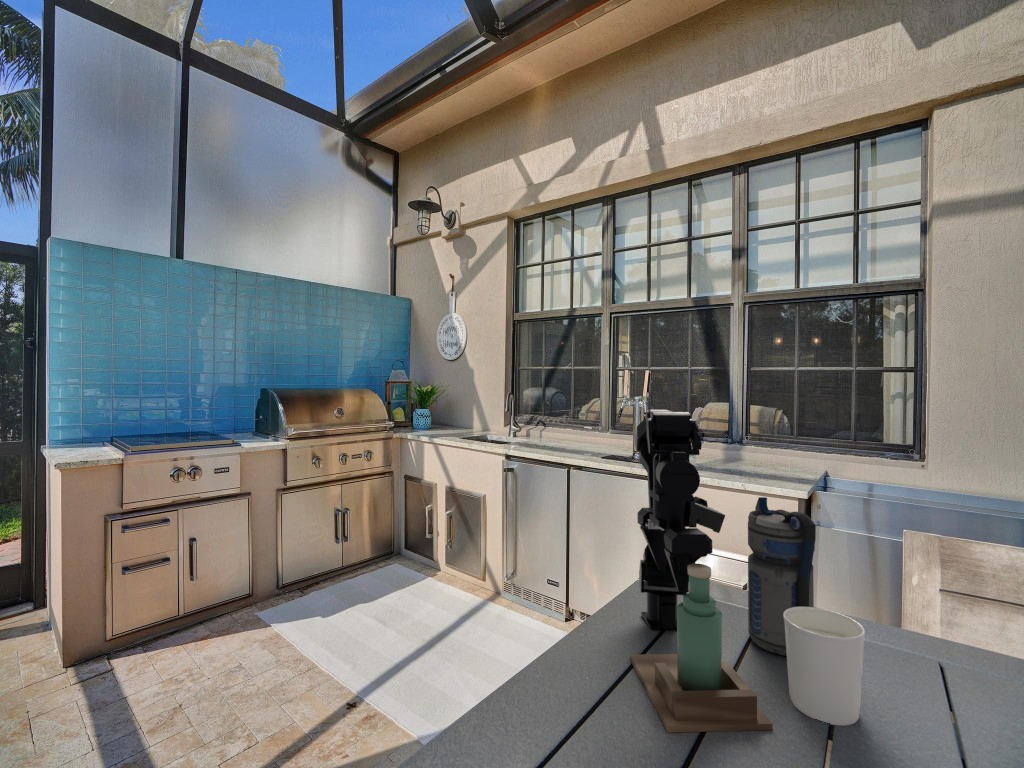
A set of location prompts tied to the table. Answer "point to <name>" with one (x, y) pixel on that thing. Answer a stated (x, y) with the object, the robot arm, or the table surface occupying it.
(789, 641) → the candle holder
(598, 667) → the table surface
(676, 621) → the robot arm
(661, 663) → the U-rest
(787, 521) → the beverage bottle
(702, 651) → the oil bottle
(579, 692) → the table surface
